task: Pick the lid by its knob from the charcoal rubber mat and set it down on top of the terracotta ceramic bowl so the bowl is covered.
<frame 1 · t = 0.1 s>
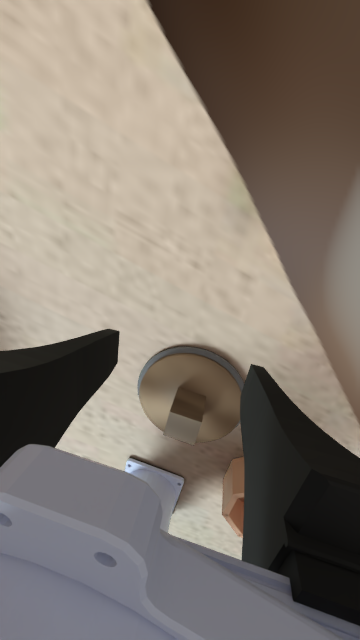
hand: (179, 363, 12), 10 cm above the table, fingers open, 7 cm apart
lid: (189, 397, 25), resting on mat
bowl: (264, 482, 27), on the table
mat: (190, 395, 25), on the table
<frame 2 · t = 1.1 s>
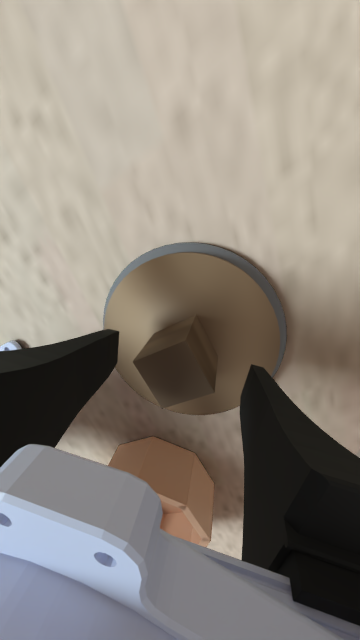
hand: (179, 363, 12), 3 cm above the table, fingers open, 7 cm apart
lid: (187, 339, 15), resting on mat
bowl: (160, 476, 21), on the table
mat: (188, 336, 15), on the table
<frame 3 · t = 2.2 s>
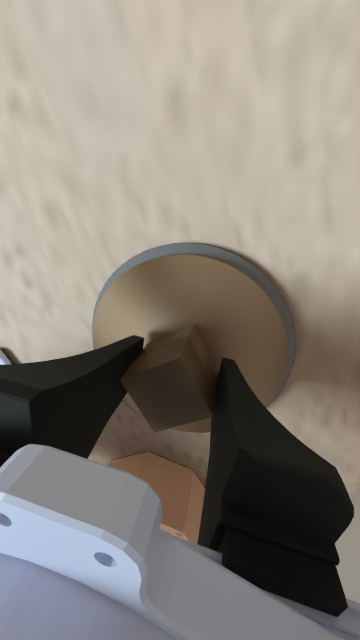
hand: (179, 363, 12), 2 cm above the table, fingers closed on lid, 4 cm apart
lid: (184, 349, 14), resting on mat, touching gripper
bowl: (156, 493, 20), on the table
mat: (186, 346, 14), on the table
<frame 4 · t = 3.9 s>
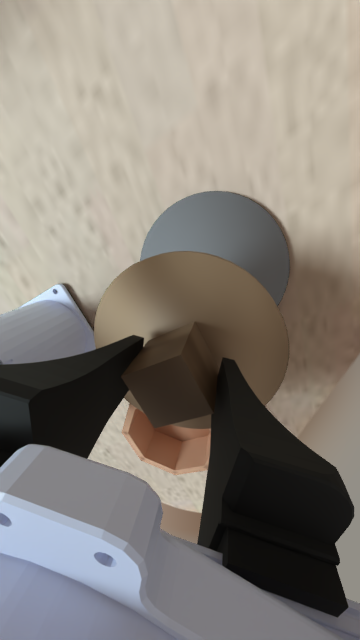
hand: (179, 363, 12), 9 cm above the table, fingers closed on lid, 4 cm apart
lid: (185, 347, 14), point 7 cm above the table, touching gripper
bowl: (179, 407, 25), on the table
mat: (210, 274, 19), on the table
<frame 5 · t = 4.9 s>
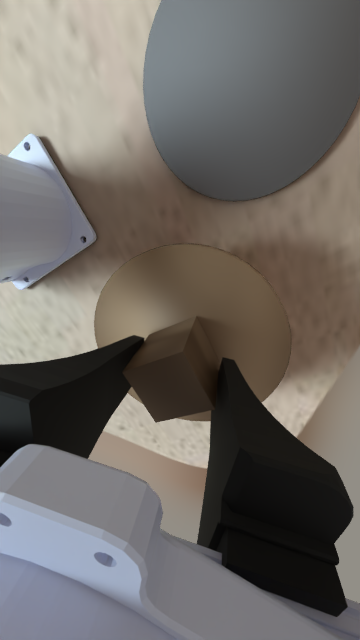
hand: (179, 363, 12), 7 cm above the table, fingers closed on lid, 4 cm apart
lid: (186, 341, 13), point 5 cm above the table, touching gripper
mat: (246, 82, 13), on the table
when the fingers open (6 cm above the table, at t = 5.8 s): lid stays where it is, resting on bowl.
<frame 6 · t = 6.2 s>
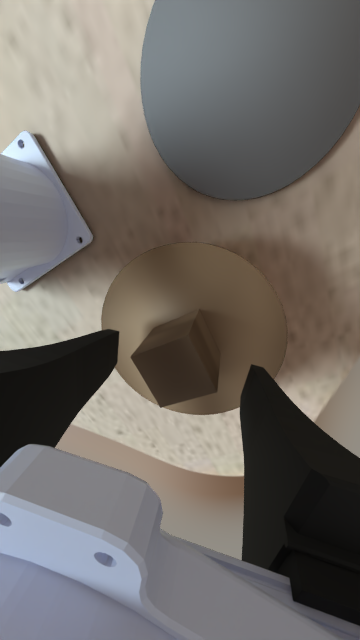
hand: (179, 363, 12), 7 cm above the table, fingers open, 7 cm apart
lid: (189, 335, 14), point 4 cm above the table, touching bowl
mat: (247, 76, 12), on the table
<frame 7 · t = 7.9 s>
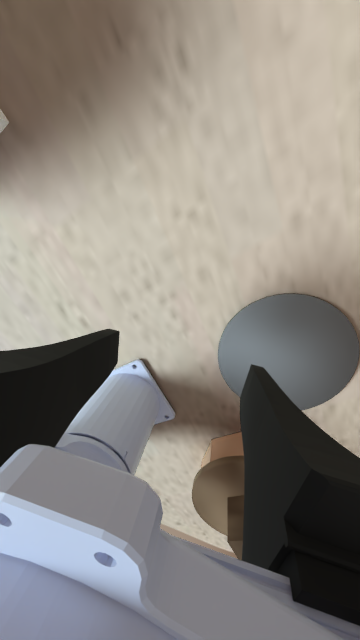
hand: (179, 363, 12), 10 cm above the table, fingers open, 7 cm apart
lid: (247, 497, 23), point 4 cm above the table, touching bowl
bowl: (243, 464, 27), on the table
mat: (283, 356, 21), on the table
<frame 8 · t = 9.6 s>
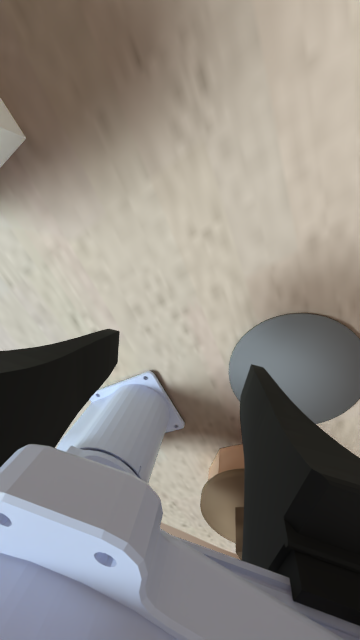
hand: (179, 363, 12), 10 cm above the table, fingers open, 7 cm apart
lid: (254, 507, 23), point 4 cm above the table, touching bowl
bowl: (250, 473, 27), on the table
mat: (293, 373, 22), on the table
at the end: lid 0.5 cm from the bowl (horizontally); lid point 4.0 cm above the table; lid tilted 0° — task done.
